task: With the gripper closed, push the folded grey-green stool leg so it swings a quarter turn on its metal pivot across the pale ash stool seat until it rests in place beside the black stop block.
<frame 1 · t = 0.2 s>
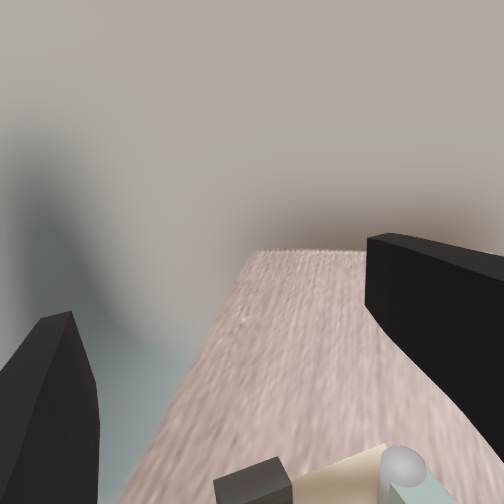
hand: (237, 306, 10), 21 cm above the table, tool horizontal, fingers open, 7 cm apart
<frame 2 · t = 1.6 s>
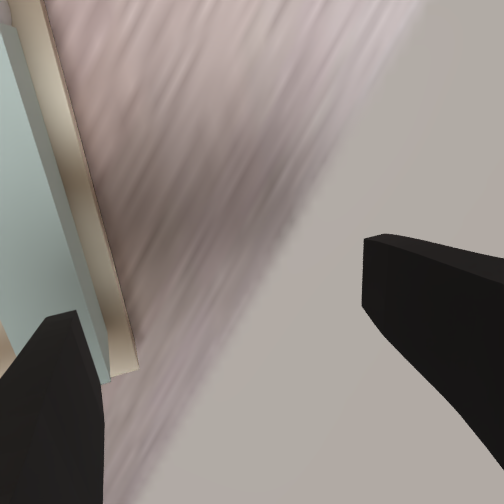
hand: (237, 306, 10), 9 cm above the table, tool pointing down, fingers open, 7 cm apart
stool leg: (17, 204, 13), point 4 cm above the table, hinge at 0.0°
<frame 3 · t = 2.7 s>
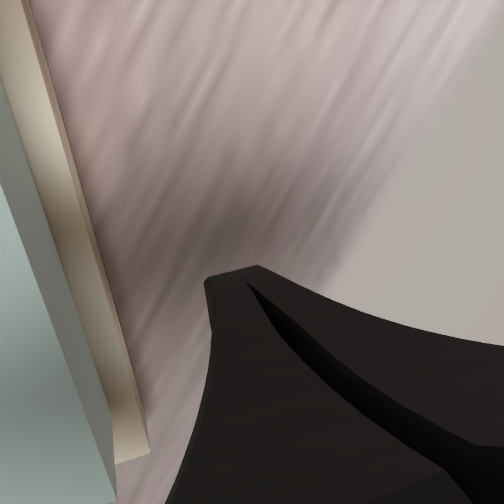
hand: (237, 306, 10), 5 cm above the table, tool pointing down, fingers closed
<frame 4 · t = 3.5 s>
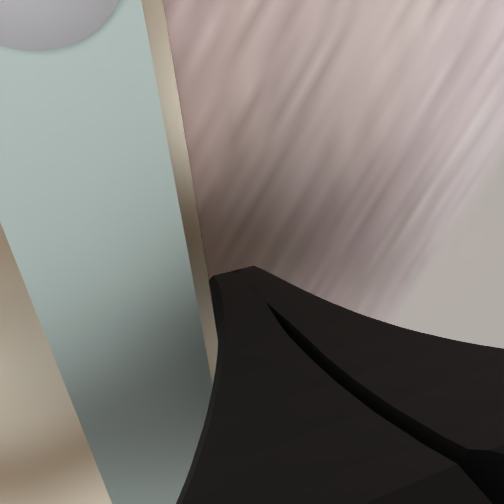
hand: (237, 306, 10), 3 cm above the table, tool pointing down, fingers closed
stool leg: (119, 278, 8), point 4 cm above the table, hinge at 0.0°, touching gripper
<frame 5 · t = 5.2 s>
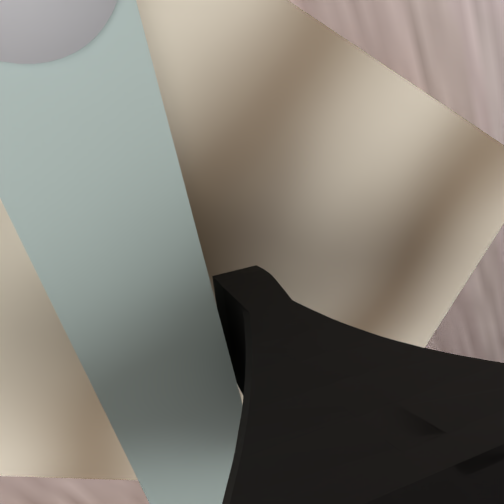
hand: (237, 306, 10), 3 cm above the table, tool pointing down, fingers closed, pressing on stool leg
stool leg: (136, 280, 8), point 4 cm above the table, hinge at 53.3°, touching gripper
stool seat: (178, 252, 13), on the table
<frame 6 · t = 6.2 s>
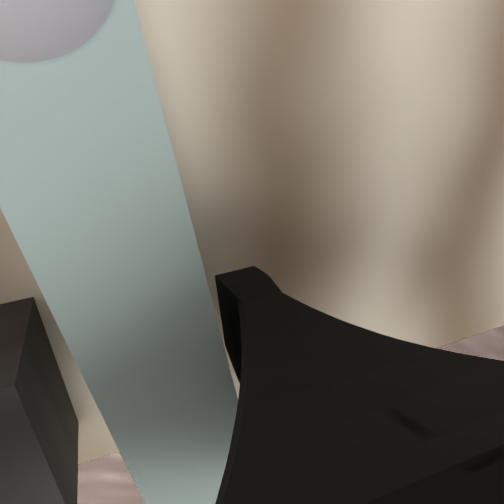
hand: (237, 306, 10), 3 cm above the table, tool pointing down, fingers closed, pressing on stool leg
stool leg: (133, 280, 8), point 4 cm above the table, hinge at 84.3°, touching gripper
stool seat: (272, 172, 13), on the table
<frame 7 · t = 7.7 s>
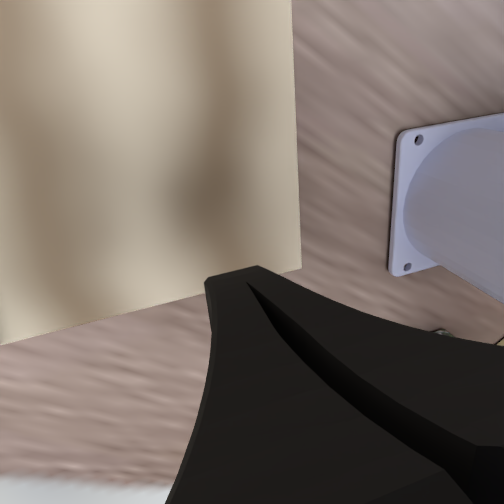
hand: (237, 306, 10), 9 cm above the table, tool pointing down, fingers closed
stool seat: (52, 143, 16), on the table
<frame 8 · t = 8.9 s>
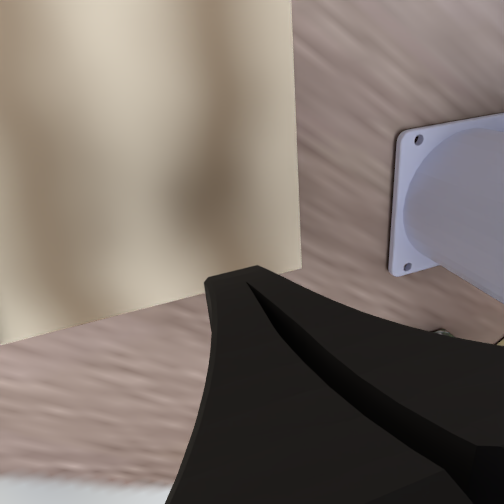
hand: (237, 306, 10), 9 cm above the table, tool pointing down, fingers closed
stool seat: (52, 143, 16), on the table
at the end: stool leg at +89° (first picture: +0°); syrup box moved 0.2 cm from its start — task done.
